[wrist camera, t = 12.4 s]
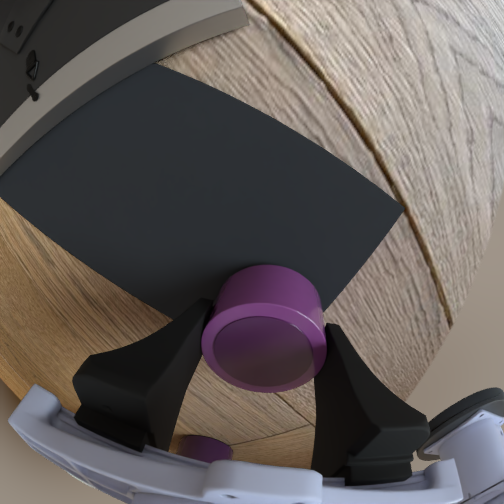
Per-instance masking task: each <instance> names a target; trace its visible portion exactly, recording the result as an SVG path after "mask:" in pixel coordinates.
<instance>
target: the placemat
mask: <svg viewBox="0 0 504 504" xmlns="http://www.w3.org/2000/svg"><path fill="white" fill-rule="evenodd" d="M0 197H1V198H2V199H3V200H4V201H5V202H6V203H8V204H9V205H10V206H11V207H12V208H13V209H15V210H16V211H17V212H18V213H19V214H20V215H22V216H23V217H24V218H25V219H26V220H28V221H29V222H30V223H31V224H33V225H34V226H35V227H36V228H38V229H39V230H40V231H41V232H43V233H44V234H45V235H46V236H48V237H49V238H50V239H52V240H53V241H54V242H56V243H57V244H58V245H60V246H61V247H62V248H64V249H65V250H66V251H68V252H69V253H70V254H72V255H73V256H75V257H76V258H77V259H79V260H80V261H82V262H83V263H84V264H86V265H87V266H89V267H90V268H92V269H93V270H95V271H96V272H97V273H99V274H100V275H102V276H103V277H105V278H106V279H108V280H109V281H111V282H112V283H114V284H116V285H117V286H119V287H120V288H122V289H123V290H125V291H126V292H128V293H130V294H131V295H133V296H134V297H136V298H138V299H139V300H141V301H143V302H144V303H146V304H148V305H149V306H151V307H153V308H154V309H156V310H158V311H159V312H161V313H163V314H164V315H166V316H168V317H170V318H171V319H173V320H174V319H176V318H177V317H178V316H179V315H181V314H182V313H183V312H184V311H186V310H187V309H188V308H189V307H190V306H191V305H192V304H194V303H195V302H196V301H197V300H198V299H199V298H201V297H202V298H206V299H210V300H214V301H213V306H214V303H215V301H216V299H217V296H218V294H219V291H220V289H221V288H222V286H223V285H224V283H225V282H226V281H227V280H228V279H229V278H230V277H231V276H233V275H234V274H235V273H237V272H239V271H241V270H243V269H246V268H248V267H252V266H257V265H277V266H282V267H286V268H289V269H291V270H294V271H296V272H298V273H299V274H301V275H302V276H304V277H305V278H306V279H307V280H309V281H310V282H311V284H312V285H313V286H314V287H315V289H316V290H317V292H318V294H319V297H320V300H321V304H322V311H323V312H324V311H325V310H326V309H327V308H328V307H329V305H330V304H331V303H332V302H333V301H334V300H335V299H336V297H337V296H338V295H339V294H340V293H341V291H342V290H343V289H344V288H345V287H346V285H347V284H348V283H349V282H350V281H351V279H352V278H353V277H354V276H355V274H356V273H357V272H358V271H359V269H360V268H361V267H362V266H363V264H364V263H365V262H366V261H367V259H368V258H369V257H370V255H371V254H372V253H373V252H374V250H375V249H376V248H377V246H378V245H379V244H380V242H381V241H382V240H383V238H384V237H385V236H386V234H387V233H388V232H389V230H390V229H391V228H392V226H393V225H394V223H395V222H396V221H397V219H398V218H399V216H400V215H401V214H402V212H403V211H404V209H405V208H404V207H403V206H402V205H400V204H399V203H398V202H397V201H395V200H394V199H393V198H392V197H390V196H389V195H388V194H386V193H385V192H384V191H383V190H381V189H380V188H379V187H377V186H376V185H375V184H373V183H372V182H371V181H369V180H368V179H367V178H365V177H364V176H363V175H361V174H360V173H358V172H357V171H356V170H354V169H353V168H351V167H350V166H348V165H347V164H346V163H344V162H343V161H341V160H340V159H338V158H337V157H335V156H334V155H332V154H331V153H329V152H328V151H326V150H325V149H323V148H322V147H320V146H319V145H317V144H315V143H314V142H312V141H311V140H309V139H307V138H306V137H304V136H303V135H301V134H299V133H298V132H296V131H294V130H293V129H291V128H289V127H287V126H286V125H284V124H282V123H281V122H279V121H277V120H275V119H274V118H272V117H270V116H268V115H266V114H265V113H263V112H261V111H259V110H257V109H255V108H253V107H251V106H250V105H248V104H246V103H244V102H242V101H240V100H238V99H236V98H234V97H232V96H230V95H228V94H226V93H224V92H222V91H220V90H217V89H215V88H213V87H211V86H209V85H207V84H204V83H202V82H200V81H198V80H195V79H193V78H191V77H188V76H186V75H184V74H181V73H179V72H176V71H174V70H171V69H169V68H166V67H164V66H161V65H158V64H156V63H152V64H150V65H149V66H147V67H145V68H143V69H141V70H139V71H137V72H135V73H134V74H132V75H130V76H128V77H126V78H125V79H123V80H121V81H120V82H118V83H116V84H115V85H113V86H111V87H110V88H108V89H106V90H105V91H103V92H102V93H100V94H99V95H97V96H96V97H94V98H93V99H91V100H90V101H88V102H87V103H85V104H84V105H82V106H81V107H79V108H78V109H77V110H75V111H74V112H73V113H71V114H70V115H68V116H67V117H66V118H65V119H63V120H62V121H61V122H59V123H58V124H57V125H56V126H54V127H53V128H52V129H51V130H49V131H48V132H47V133H46V134H44V135H43V136H42V137H41V138H40V139H39V140H37V141H36V142H35V143H34V144H33V145H32V146H31V147H30V148H28V149H27V150H26V151H25V152H24V153H23V154H22V155H21V156H20V157H19V158H18V159H17V160H16V161H15V162H14V163H13V164H12V165H11V166H10V167H9V168H8V169H7V170H6V171H5V172H4V173H3V174H2V175H1V176H0Z"/></svg>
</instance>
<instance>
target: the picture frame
mask: <svg viewBox="0 0 504 504" xmlns="http://www.w3.org/2000/svg"><path fill="white" fill-rule="evenodd" d="M248 25H250V24H249V21H248V19H247V16H246V13H245V10H244V8H243V5H242V3H241V1H240V0H0V176H1V175H2V174H3V173H4V172H5V171H6V170H7V169H8V168H9V167H10V166H11V165H12V164H13V163H14V162H15V161H16V160H17V159H18V158H19V157H20V156H21V155H22V154H23V153H24V152H25V151H26V150H27V149H28V148H30V147H31V146H32V145H33V144H34V143H35V142H36V141H37V140H39V139H40V138H41V137H42V136H43V135H44V134H46V133H47V132H48V131H49V130H51V129H52V128H53V127H54V126H56V125H57V124H58V123H59V122H61V121H62V120H63V119H65V118H66V117H67V116H68V115H70V114H71V113H73V112H74V111H75V110H77V109H78V108H79V107H81V106H82V105H84V104H85V103H87V102H88V101H90V100H91V99H93V98H94V97H96V96H97V95H99V94H100V93H102V92H103V91H105V90H106V89H108V88H110V87H111V86H113V85H115V84H116V83H118V82H120V81H121V80H123V79H125V78H126V77H128V76H130V75H132V74H134V73H135V72H137V71H139V70H141V69H143V68H145V67H147V66H149V65H150V64H152V63H154V62H156V61H158V60H160V59H163V58H165V57H167V56H169V55H171V54H173V53H175V52H178V51H180V50H182V49H184V48H187V47H189V46H192V45H194V44H196V43H199V42H201V41H204V40H207V39H209V38H212V37H215V36H217V35H220V34H223V33H226V32H229V31H232V30H235V29H238V28H241V27H244V26H248Z"/></svg>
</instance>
